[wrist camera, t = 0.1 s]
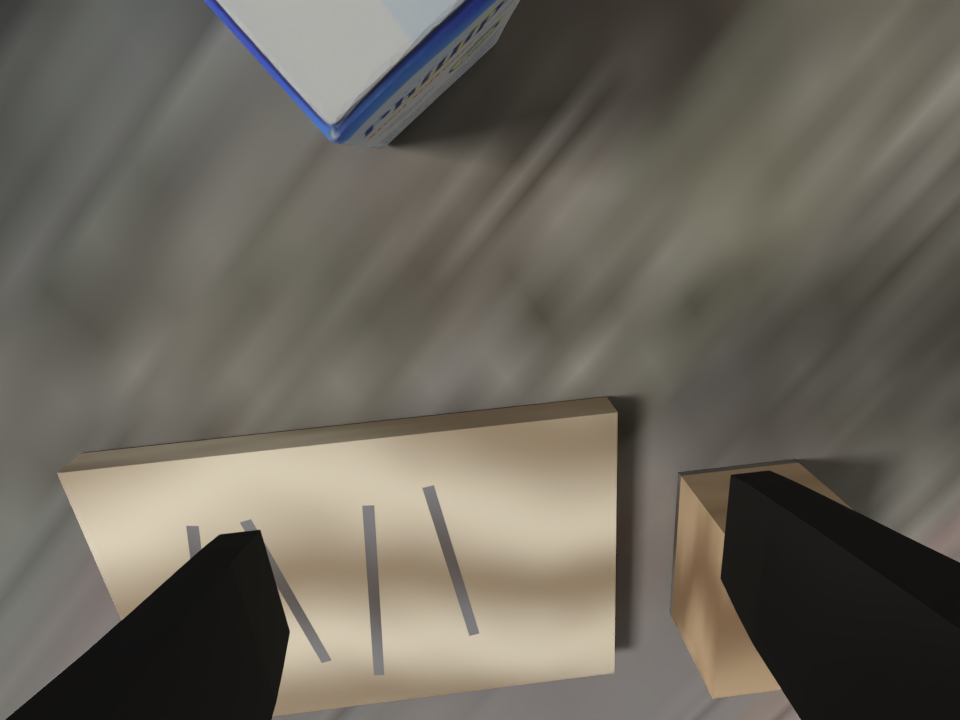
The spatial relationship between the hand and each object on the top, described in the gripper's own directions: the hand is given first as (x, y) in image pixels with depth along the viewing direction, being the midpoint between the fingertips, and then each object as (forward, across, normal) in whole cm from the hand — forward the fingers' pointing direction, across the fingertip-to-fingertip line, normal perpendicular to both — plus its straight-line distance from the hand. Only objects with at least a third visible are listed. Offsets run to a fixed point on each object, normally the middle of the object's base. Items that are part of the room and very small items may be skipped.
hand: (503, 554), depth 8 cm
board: (+10, +4, +8) cm, 14 cm away
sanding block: (+10, -10, +10) cm, 17 cm away
